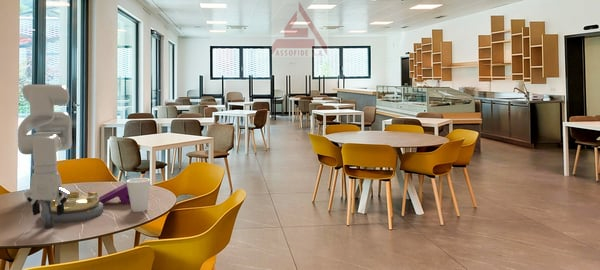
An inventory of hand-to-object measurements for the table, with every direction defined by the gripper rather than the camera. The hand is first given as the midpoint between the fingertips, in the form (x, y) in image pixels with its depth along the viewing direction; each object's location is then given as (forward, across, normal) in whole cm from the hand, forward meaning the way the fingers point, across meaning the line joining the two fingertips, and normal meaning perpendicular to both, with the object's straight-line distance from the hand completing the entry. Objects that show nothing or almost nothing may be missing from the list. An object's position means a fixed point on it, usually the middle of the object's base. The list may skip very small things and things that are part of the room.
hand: (48, 214), depth 168 cm
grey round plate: (+5, 0, +16) cm, 17 cm away
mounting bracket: (+5, +10, +36) cm, 38 cm away
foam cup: (+5, +25, +25) cm, 35 cm away
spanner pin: (+5, 0, -1) cm, 5 cm away
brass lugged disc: (+2, 0, +16) cm, 17 cm away
